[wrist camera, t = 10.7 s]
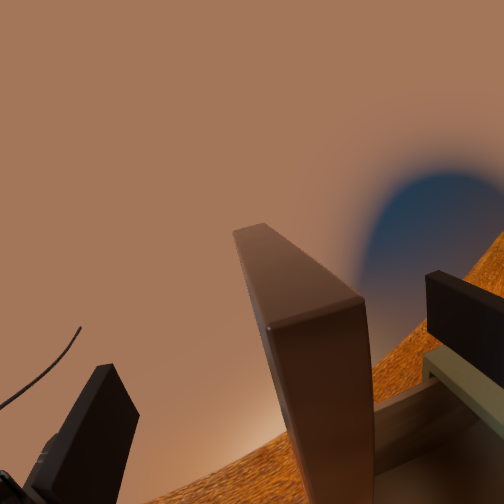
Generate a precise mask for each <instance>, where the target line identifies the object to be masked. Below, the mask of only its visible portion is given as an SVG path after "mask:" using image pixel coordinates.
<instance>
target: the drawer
mask: <svg viewBox="0 0 504 504" xmlns="http://www.w3.org/2000/svg"><path fill="white" fill-rule="evenodd" d="M233 236H234V240H235V244H236V248H237V251H238V255H239V259H240V263H241V266H242V270H243V274H244V278H245V281H246V285H247V289H248V292H249V296H250V300H251V303H252V307H253V311H254V314H255V318H256V322H257V325H258V329H259V332H260V336H261V339H262V343H263V347H264V350H265V354H266V357H267V361H268V365H269V368H270V372H271V375H272V379H273V382H274V386H275V390H276V393H277V396H278V400H279V403H280V407H281V412H282V415H283V419H284V422H285V425H286V429H287V433H288V436H289V439H290V443H291V446H292V450H293V453H294V457H295V460H296V463H297V467H298V470H299V473H300V477H301V480H302V484H303V487H304V490H305V494H306V497H307V500H308V503H309V504H504V440H503V439H502V438H501V437H500V436H499V435H498V434H497V433H496V432H495V431H494V430H493V429H491V428H490V427H489V426H488V425H487V424H486V423H485V422H484V421H483V420H482V419H481V418H480V417H479V416H478V415H477V414H476V413H475V412H474V411H473V410H471V409H470V408H469V407H468V406H467V405H466V404H465V403H464V402H463V401H462V400H461V399H460V398H459V397H458V396H456V395H455V394H454V393H453V392H452V391H451V390H450V389H449V388H448V387H447V386H446V385H445V384H443V383H442V382H441V381H440V380H439V379H438V378H437V377H436V376H434V377H432V378H430V379H428V380H426V381H424V382H422V383H420V384H418V385H416V386H414V387H412V388H410V389H408V390H406V391H403V392H401V393H399V394H397V395H395V396H392V397H390V398H388V399H385V400H383V401H381V402H378V403H376V404H374V399H373V381H372V367H371V355H370V344H369V333H368V325H367V315H366V307H365V299H364V298H363V296H362V295H361V294H359V293H358V292H357V291H356V290H354V289H353V288H352V287H350V286H349V285H348V284H346V283H345V282H344V281H342V280H341V279H340V278H338V277H337V276H336V275H334V274H333V273H332V272H330V271H329V270H328V269H326V268H325V267H324V266H322V265H321V264H320V263H318V262H317V261H316V260H314V259H313V258H312V257H310V256H309V255H307V254H306V253H305V252H304V251H302V250H301V249H300V248H298V247H297V246H295V245H294V244H293V243H291V242H290V241H289V240H287V239H286V238H285V237H283V236H282V235H280V234H279V233H278V232H276V231H275V230H274V229H272V228H271V227H269V226H268V225H267V224H265V223H261V224H257V225H254V226H250V227H246V228H242V229H239V230H235V231H233Z"/></svg>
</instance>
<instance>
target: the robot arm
mask: <svg viewBox="0 0 504 504" xmlns="http://www.w3.org/2000/svg"><path fill="white" fill-rule="evenodd" d="M425 281H426V299H427V332H428V333H430V334H431V335H432V336H434V337H435V338H436V339H438V340H439V341H440V342H442V343H443V344H444V345H446V346H447V347H449V348H450V349H451V350H453V351H454V352H455V353H457V354H458V355H459V356H461V357H462V358H463V359H465V360H466V361H467V362H469V363H470V364H471V365H472V366H474V367H475V368H476V369H478V370H479V371H480V372H482V373H483V374H484V375H486V376H487V377H488V378H489V379H491V380H492V381H493V382H495V383H496V384H497V385H498V386H500V387H501V388H502V389H504V298H502V297H500V296H497V295H495V294H493V293H491V292H488V291H486V290H484V289H482V288H479V287H477V286H475V285H472V284H470V283H468V282H466V281H463V280H461V279H459V278H456V277H454V276H451V275H449V274H447V273H444V272H442V271H440V270H437V271H435V272H432V273H430V274H427V275H425ZM81 329H82V327H81V326H80V327H79V329H78V330H77V332H76V334H75V335H74V337H73V338H72V340H71V342H70V343H69V345H68V346H67V348H66V349H65V350H64V352H63V353H62V354H61V355H60V356H59V357H58V358H57V360H55V361H54V362H53V363H52V364H51V365H50V366H49V367H48V368H47V369H46V370H45V371H44V372H43V373H42V374H40V375H39V376H38V377H37V378H36V379H34V380H33V381H32V382H30V383H29V384H28V385H27V386H25V387H24V388H23V389H22V390H20V391H19V392H18V393H16V394H15V395H13V396H12V397H11V398H9V399H8V400H7V401H5V402H4V403H2V404H1V405H0V410H1V409H2V408H4V407H5V406H6V405H8V404H9V403H10V402H12V401H13V400H14V399H16V398H17V397H19V396H20V395H21V394H22V393H24V392H25V391H26V390H28V389H29V388H30V387H31V386H33V385H34V384H35V383H36V382H38V381H39V380H40V379H41V378H42V377H44V376H45V375H46V374H47V373H48V372H49V371H50V370H51V369H52V368H53V367H54V366H55V365H56V364H57V363H58V362H59V361H60V360H61V359H62V357H63V356H64V355H65V354H66V353H67V351H68V350H69V348H70V347H71V345H72V344H73V342H74V340H75V339H76V337H77V336H78V334H79V332H80V330H81ZM139 416H140V415H139V413H138V411H137V409H136V407H135V406H134V404H133V402H132V400H131V398H130V396H129V395H128V393H127V391H126V389H125V387H124V385H123V383H122V381H121V379H120V377H119V375H118V373H117V371H116V369H115V367H114V365H113V363H112V364H106V365H100V366H97V367H96V369H95V370H94V372H93V374H92V375H91V377H90V379H89V380H88V382H87V384H86V385H85V387H84V389H83V390H82V392H81V394H80V395H79V397H78V399H77V401H76V402H75V404H74V406H73V407H72V409H71V411H70V413H69V415H68V416H67V418H66V420H65V422H64V424H63V426H62V427H61V429H60V431H59V432H58V433H56V434H55V435H54V436H53V437H52V438H51V439H50V440H49V441H48V442H47V443H46V445H45V447H44V448H43V450H42V452H41V453H42V455H41V454H40V456H39V458H38V459H37V463H35V465H34V467H33V469H32V471H31V473H30V475H29V477H28V478H27V480H26V483H25V484H24V486H23V488H21V487H20V486H19V485H18V484H17V483H16V482H15V481H14V479H13V478H12V477H11V476H10V475H9V474H8V473H7V472H5V471H4V470H0V504H116V502H117V498H118V494H119V490H120V486H121V482H122V478H123V474H124V470H125V466H126V463H127V459H128V455H129V452H130V448H131V444H132V440H133V437H134V433H135V430H136V427H137V423H138V419H139Z"/></svg>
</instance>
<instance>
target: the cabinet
mask: <svg viewBox="0 0 504 504" xmlns="http://www.w3.org/2000/svg"><path fill="white" fill-rule="evenodd" d="M434 376H436V377H437V378H438V379H439V380H440V381H441V382H442V383H443V384H445V385H446V386H447V387H448V388H449V389H450V390H451V391H452V392H453V393H454V394H455V395H456V396H458V397H459V398H460V399H461V400H462V401H463V402H464V403H465V404H466V405H467V406H468V407H469V408H470V409H471V410H473V411H474V412H475V413H476V414H477V415H478V416H479V417H480V418H481V419H482V420H483V421H484V422H485V423H486V424H487V425H488V426H489V427H490V428H491V429H493V430H494V431H495V432H496V433H497V434H498V435H499V436H500V437H501V438H502V439H503V440H504V389H502V388H501V387H500V386H498V385H497V384H496V383H495V382H493V381H492V380H491V379H489V378H488V377H487V376H486V375H484V374H483V373H482V372H480V371H479V370H478V369H476V368H475V367H474V366H472V365H471V364H470V363H469V362H467V361H466V360H465V359H463V358H462V357H461V356H459V355H458V354H457V353H455V352H454V351H453V350H451V349H450V348H449V347H447V346H446V345H442V346H440V347H438V348H436V349H434V350H432V351H430V352H428V353H425V354H424V355H423V373H422V382H424V381H426V380H428V379H430V378H432V377H434Z"/></svg>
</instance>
